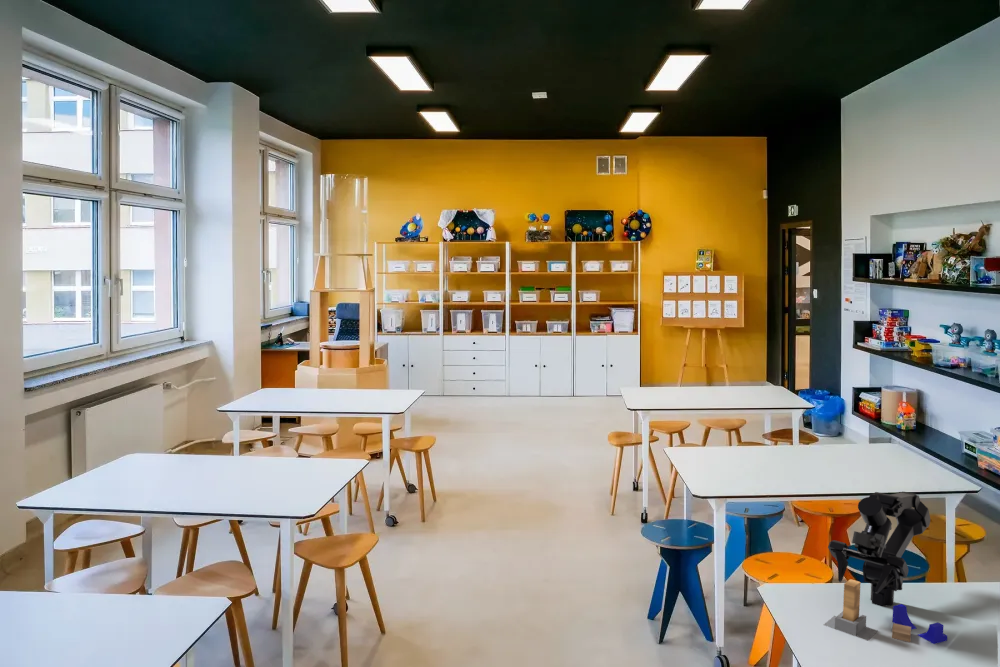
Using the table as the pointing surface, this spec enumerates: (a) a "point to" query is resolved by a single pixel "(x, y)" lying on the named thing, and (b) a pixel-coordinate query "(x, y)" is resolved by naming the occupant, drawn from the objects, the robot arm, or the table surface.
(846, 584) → the tall strip
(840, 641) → the table surface
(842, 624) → the rack
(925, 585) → the table surface
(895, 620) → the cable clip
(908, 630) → the upper offcut
